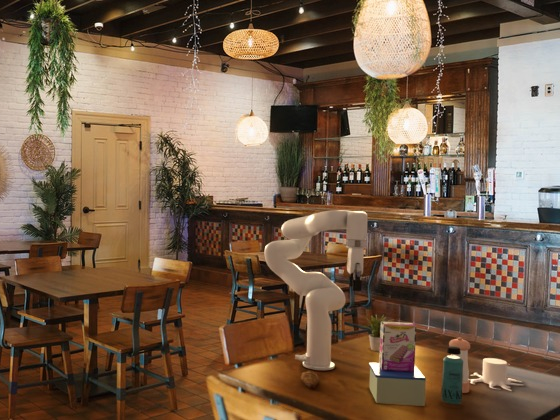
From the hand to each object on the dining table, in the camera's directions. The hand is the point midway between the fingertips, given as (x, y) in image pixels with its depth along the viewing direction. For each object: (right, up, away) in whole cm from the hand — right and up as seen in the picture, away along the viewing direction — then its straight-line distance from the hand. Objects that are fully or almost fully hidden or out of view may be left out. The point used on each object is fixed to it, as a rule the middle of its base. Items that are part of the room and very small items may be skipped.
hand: (355, 288), depth 247 cm
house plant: (+23, -33, +41) cm, 57 cm away
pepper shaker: (+34, -36, -12) cm, 50 cm away
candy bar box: (+8, -26, -21) cm, 35 cm away
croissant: (-19, -35, -7) cm, 40 cm away
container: (+8, -35, -21) cm, 42 cm away
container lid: (+8, -27, -21) cm, 35 cm away
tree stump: (+52, -35, -2) cm, 63 cm away
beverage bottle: (+24, -36, -29) cm, 52 cm away
